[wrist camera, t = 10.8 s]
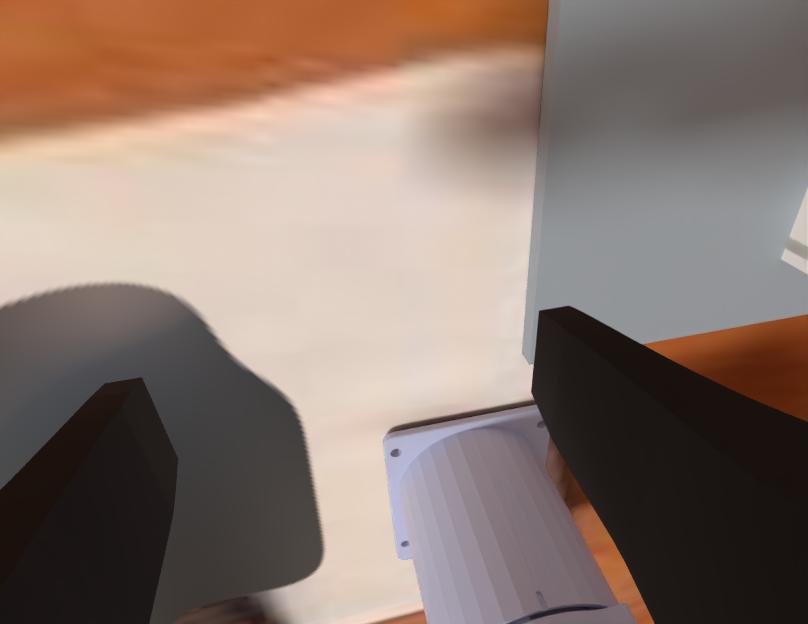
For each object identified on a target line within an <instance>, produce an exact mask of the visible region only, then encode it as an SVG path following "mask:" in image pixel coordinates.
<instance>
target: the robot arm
mask: <svg viewBox="0 0 808 624" xmlns="http://www.w3.org/2000/svg"><path fill="white" fill-rule="evenodd" d="M531 392H532V395H533V397H534V400H535V402H536V405H531V406H526V407H521V408H515V409H510V410H505V411H500V412H494V413H489V414H484V415H479V416H474V417H468V418H463V419H458V420H453V421H448V422H442V423H437V424H432V425H427V426H421V427H416V428H411V429H406V430H401V431H395V432H391V433H389V434H387V435H386V436H385V437H384V439H383V446H384V454H385V463H386V471H387V479H388V487H389V495H390V503H391V511H392V519H393V527H394V535H395V544H396V551H397V556H398V558H399V559H401V560H408V559H412V558H413V562H414V566H415V571H416V575H417V580H418V584H419V589H420V593H421V597H422V602H423V606H424V611H425V615H426V620H427V624H637V622H636V620H635V618H634V616H633V614H632V613H631V611H630V609H629V607H628V605H627V604H626V603H620V604H619V603H618V601H617V599H616V597H615V595H614V593H613V592H612V590H611V588H610V586H609V584H608V582H607V580H606V579H605V577H604V575H603V573H602V571H601V569H600V567H599V565H598V564H597V562H596V560H595V558H594V556H593V554H592V552H591V551H590V549H589V547H588V545H587V543H586V541H585V539H584V537H583V536H582V534H581V532H580V530H579V528H578V526H577V524H576V523H575V521H574V519H573V517H572V515H571V513H570V511H569V509H568V508H567V506H566V504H565V502H564V500H563V498H562V496H561V494H560V493H559V491H558V489H557V487H556V485H555V483H554V481H553V480H552V478H551V476H550V474H549V472H548V470H547V468H546V462H547V455H548V447H549V439H550V436H551V438H552V440H553V441H554V443H555V445H556V447H557V448H558V450H559V452H560V453H561V455H562V457H563V458H564V460H565V462H566V463H567V465H568V467H569V468H570V470H571V472H572V473H573V475H574V477H575V478H576V480H577V482H578V483H579V485H580V487H581V488H582V490H583V492H584V493H585V495H586V497H587V498H588V500H589V501H590V503H591V505H592V506H593V508H594V510H595V511H596V513H597V515H598V516H599V518H600V520H601V521H602V523H603V524H604V526H605V528H606V529H607V531H608V533H609V534H610V536H611V538H612V539H613V541H614V543H615V545H616V547H617V548H618V550H619V552H620V554H621V556H622V557H623V559H624V561H625V563H626V565H627V567H628V569H629V571H630V573H631V575H632V577H633V579H634V582H635V584H636V586H637V588H638V590H639V592H640V594H641V596H642V598H643V600H644V602H645V604H646V606H647V608H648V611H649V613H650V615H651V617H652V619H653V621H654V623H655V624H808V422H806V421H804V420H801V419H799V418H796V417H794V416H791V415H789V414H786V413H784V412H781V411H779V410H777V409H774V408H772V407H769V406H767V405H764V404H762V403H760V402H757V401H755V400H753V399H750V398H748V397H746V396H744V395H741V394H739V393H737V392H735V391H733V390H731V389H729V388H726V387H724V386H722V385H720V384H718V383H716V382H714V381H712V380H710V379H708V378H706V377H703V376H701V375H699V374H697V373H695V372H693V371H691V370H689V369H687V368H685V367H684V366H682V365H680V364H678V363H676V362H674V361H672V360H670V359H668V358H666V357H664V356H662V355H661V354H659V353H657V352H655V351H653V350H651V349H649V348H648V347H646V346H644V345H642V344H640V343H638V342H637V341H635V340H633V339H631V338H629V337H628V336H626V335H624V334H622V333H620V332H619V331H617V330H615V329H613V328H611V327H610V326H608V325H606V324H604V323H602V322H600V321H599V320H597V319H595V318H593V317H591V316H589V315H588V314H586V313H584V312H582V311H580V310H578V309H576V308H574V307H571V306H563V307H557V308H552V309H546V310H540V311H539V315H538V326H537V336H536V347H535V358H534V369H533V379H532V390H531ZM540 421H541V422H540ZM394 449H398V450H395V451H392V450H394ZM177 464H178V458H177V455H176V453H175V451H174V449H173V446H172V444H171V442H170V440H169V437H168V435H167V433H166V431H165V428H164V426H163V424H162V422H161V419H160V417H159V415H158V413H157V410H156V408H155V406H154V404H153V401H152V399H151V397H150V395H149V392H148V390H147V388H146V386H145V383H144V381H143V379H142V378H135V379H129V380H123V381H118V382H111V383H105V384H104V385H103V386H102V387H101V388H100V389H99V390H97V392H95V393H94V394H93V395H92V396H91V397H90V398H89V399H88V400H87V401H86V402H85V404H83V405H82V406H81V408H80V409H79V410H78V411H77V412H76V413H75V414H74V415H73V416H72V417H71V418H70V419H69V420H68V421H67V422H66V423H65V424H64V425H63V426H62V427H61V428H60V430H59V431H58V432H57V433H56V434H55V435H54V436H53V437H52V438H51V439H50V440H49V441H48V442H47V443H46V444H45V445H44V446H43V447H42V448H41V449H40V450H39V451H38V452H37V453H36V454H35V455H34V457H32V458H31V459H30V461H29V462H28V463H27V464H26V465H25V466H24V467H23V468H22V469H21V470H20V471H19V472H18V473H17V474H16V475H15V476H14V477H13V478H12V479H11V480H10V481H9V482H8V483H7V484H6V485H5V486H4V487H3V488H2V489H1V490H0V624H149V622H150V617H151V612H152V608H153V604H154V599H155V595H156V590H157V586H158V581H159V577H160V573H161V568H162V564H163V559H164V555H165V550H166V545H167V541H168V536H169V532H170V527H171V522H172V517H173V512H174V501H175V491H176V478H177Z"/></svg>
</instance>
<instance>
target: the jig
mask: <svg viewBox="0 0 808 624" xmlns="http://www.w3.org/2000/svg"><path fill="white" fill-rule="evenodd" d="M563 306H571V307H574V308H576V309H578V310H580V311H582V312H584V313H586V314H588V315H589V316H591V317H593V318H595V319H597V320H599V321H600V322H602V323H604V324H606V325H608V326H610V327H611V328H613V329H615V330H617V331H619V332H620V333H622V334H624V335H626V336H628V337H629V338H631V339H633V340H635V341H637V342H638V343H640V344H646V343H651V342H657V341H662V340H668V339H673V338H679V337H684V336H690V335H695V334H701V333H706V332H712V331H717V330H723V329H728V328H734V327H739V326H745V325H750V324H756V323H761V322H767V321H772V320H778V319H784V318H789V317H795V316H800V315H806V314H808V0H549V10H548V23H547V36H546V49H545V62H544V75H543V88H542V101H541V114H540V127H539V140H538V154H537V167H536V180H535V193H534V206H533V219H532V232H531V245H530V258H529V271H528V284H527V297H526V310H525V323H524V336H523V349H522V354H523V355H524V357H525V358H526V360H527V362H528V363H529V365H530V364H534V358H535V347H536V336H537V326H538V315H539V311H540V310H546V309H552V308H557V307H563Z"/></svg>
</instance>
